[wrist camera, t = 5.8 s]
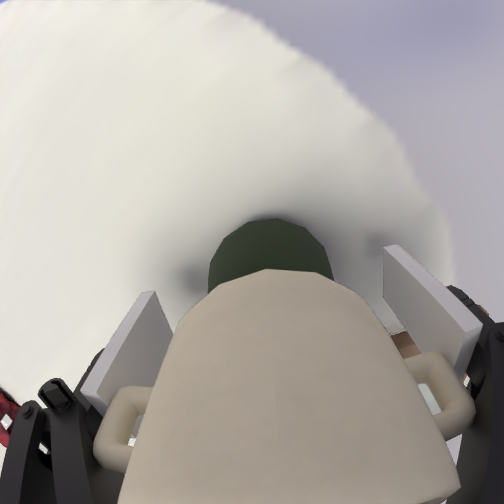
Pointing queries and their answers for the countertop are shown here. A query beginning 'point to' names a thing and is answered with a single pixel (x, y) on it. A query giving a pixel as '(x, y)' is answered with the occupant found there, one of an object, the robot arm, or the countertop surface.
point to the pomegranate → (7, 419)
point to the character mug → (285, 394)
